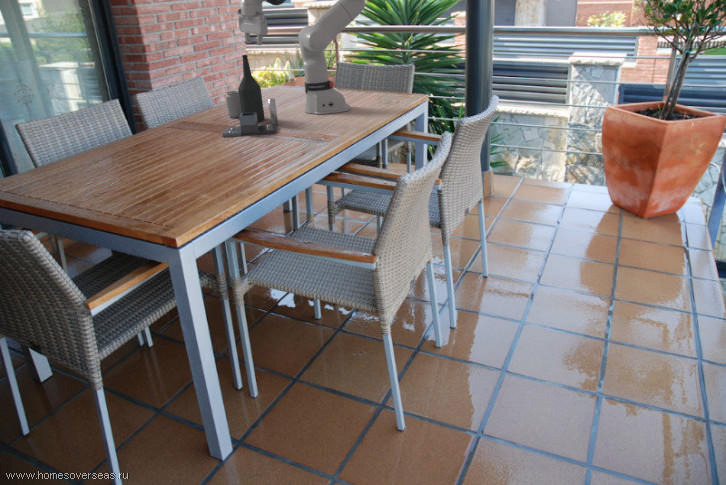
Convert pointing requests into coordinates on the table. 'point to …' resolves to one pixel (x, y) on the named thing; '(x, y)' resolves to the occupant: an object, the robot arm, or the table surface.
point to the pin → (273, 111)
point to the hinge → (249, 126)
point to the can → (233, 104)
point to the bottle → (250, 93)
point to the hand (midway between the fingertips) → (254, 44)
